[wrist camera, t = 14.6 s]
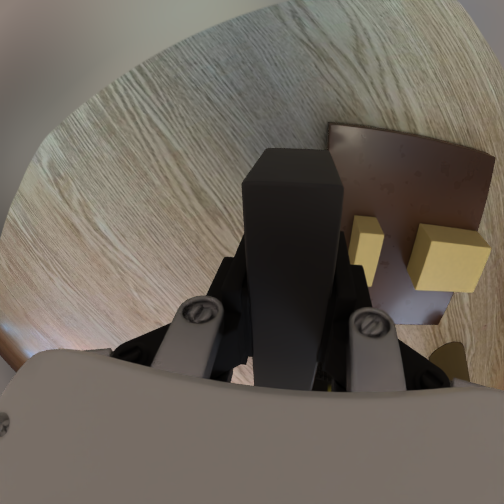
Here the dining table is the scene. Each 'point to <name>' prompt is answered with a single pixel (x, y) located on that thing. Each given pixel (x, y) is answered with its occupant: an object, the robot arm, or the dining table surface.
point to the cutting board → (407, 204)
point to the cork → (451, 361)
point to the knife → (290, 260)
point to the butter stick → (447, 259)
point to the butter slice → (366, 245)
